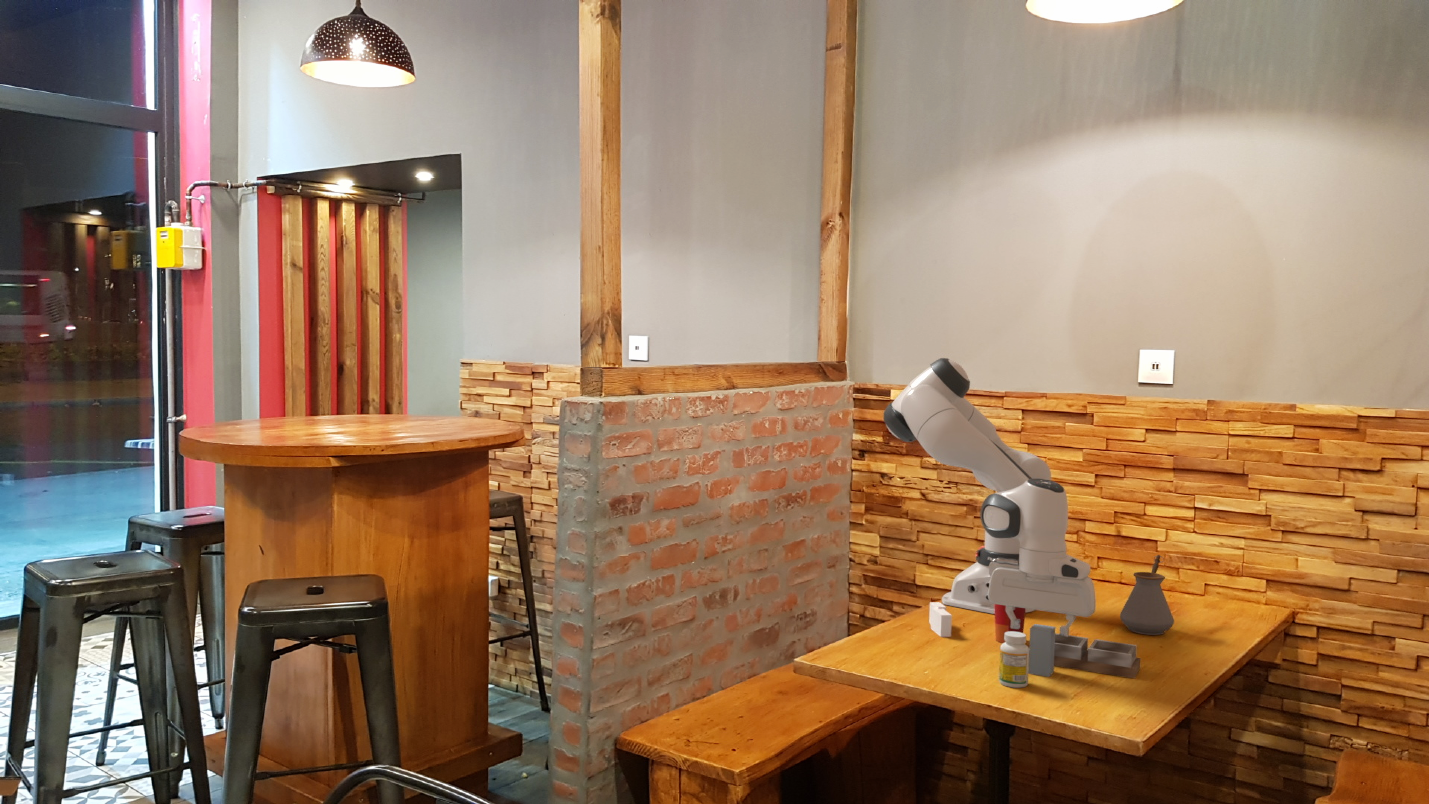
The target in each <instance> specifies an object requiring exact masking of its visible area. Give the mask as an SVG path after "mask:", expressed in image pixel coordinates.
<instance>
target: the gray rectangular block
mask: <svg viewBox="0 0 1429 804" xmlns="http://www.w3.org/2000/svg"><path fill="white" fill-rule="evenodd" d="M1055 633H1056V626H1054V625H1053V626H1052V625H1045V624H1039V623H1038V624H1037V623H1034V624H1033V625H1032V626H1031V627H1030V628H1029V646H1028V648H1029V672H1028V675H1034V676H1035V675H1036V676H1041V677H1046V678H1050V677H1051V676H1052V674H1053V673H1054V672H1055V671H1054V670H1055V666H1054V649H1055Z"/></svg>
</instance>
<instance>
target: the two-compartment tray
mask: <svg viewBox="0 0 1429 804" xmlns="http://www.w3.org/2000/svg"><path fill="white" fill-rule="evenodd" d="M1059 634H1060V633H1056V632H1055V649H1054V667H1060V668H1068V669H1072V670H1078V671H1080V670H1081V671H1086V672H1091V673H1092V672H1093V673H1096V674H1097V673H1099V674H1102V675H1103V674H1105V675H1110V676H1116V677H1123V678H1129V679H1136V676H1137V674H1138V673H1139V671H1140V670H1141V658H1142V657H1141V658H1140V657H1138V656H1137V654H1138V653H1137V647H1138V645H1137V644H1131V643H1124V642H1118V641H1110V640H1103V639H1098V638H1095V639H1094V640H1093V641H1092V643H1091V644H1090V645H1089V638H1088V637H1083V636H1077V635H1076V636H1075V635H1070V634H1069V636H1068V637H1064V636H1060V635H1059Z"/></svg>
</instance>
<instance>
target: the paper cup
mask: <svg viewBox="0 0 1429 804" xmlns="http://www.w3.org/2000/svg"><path fill="white" fill-rule="evenodd" d="M1025 609H1026V608H1020V607H1015V610H1013V612H1014V615H1015V617H1016V619H1020V623H1019V624H1020V628H1019V629H1012V628H1011V620H1010V618H1009V617H1008V615H1007V613H1006V605H999V604H995V614H994V628H995V629H994V630H995V635H994V636H995V641H996V642H998V643H1000V644H1003V643H1005V642H1006V641H1005V639H1004V634H1005V632H1009V631H1014V632H1021V633H1024V628H1025V619H1026V613H1025Z"/></svg>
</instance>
